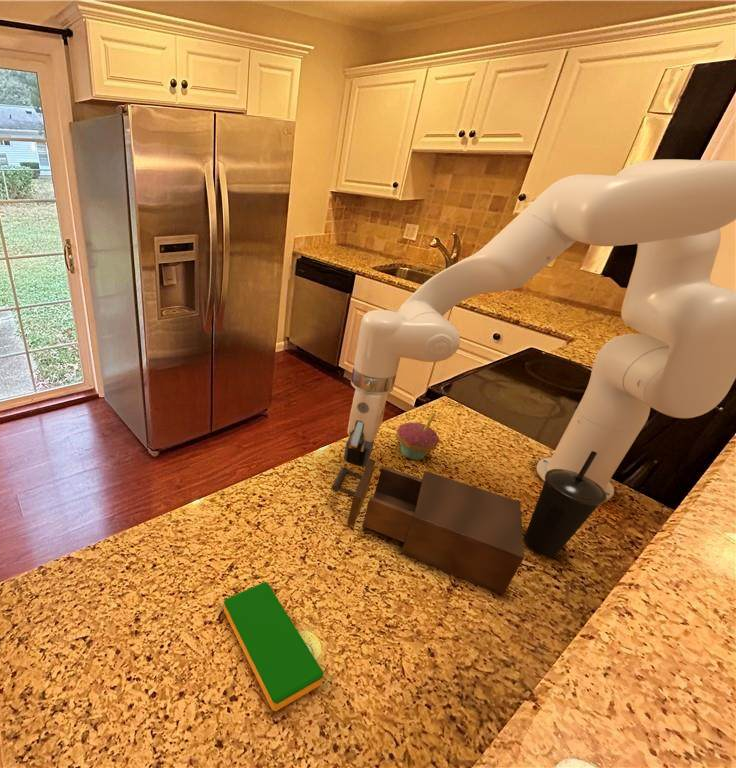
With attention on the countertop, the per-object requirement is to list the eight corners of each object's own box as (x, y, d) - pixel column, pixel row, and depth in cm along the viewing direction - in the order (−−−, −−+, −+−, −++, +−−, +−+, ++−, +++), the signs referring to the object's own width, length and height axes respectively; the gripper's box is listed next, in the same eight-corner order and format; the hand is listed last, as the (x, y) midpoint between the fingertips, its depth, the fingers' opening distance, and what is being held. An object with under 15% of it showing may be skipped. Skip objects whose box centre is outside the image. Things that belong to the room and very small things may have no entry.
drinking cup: (577, 568, 66) (641, 473, 57) (525, 559, 68) (579, 465, 58) (554, 531, 73) (608, 440, 63) (507, 524, 74) (552, 434, 64)
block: (349, 447, 87) (352, 430, 85) (371, 454, 85) (375, 437, 83) (343, 459, 84) (346, 441, 81) (365, 467, 82) (369, 449, 79)
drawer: (323, 514, 74) (328, 485, 71) (341, 477, 83) (347, 450, 79) (429, 557, 66) (441, 528, 63) (437, 512, 75) (448, 484, 72)
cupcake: (438, 453, 92) (454, 407, 86) (424, 471, 86) (440, 424, 80) (400, 437, 97) (413, 393, 91) (385, 453, 91) (397, 407, 86)
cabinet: (401, 553, 68) (413, 516, 64) (413, 505, 78) (424, 470, 74) (502, 595, 62) (524, 557, 58) (502, 537, 71) (520, 501, 67)
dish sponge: (265, 590, 62) (266, 580, 61) (322, 684, 51) (325, 674, 50) (222, 609, 59) (223, 599, 58) (273, 713, 48) (274, 703, 47)
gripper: (384, 404, 67) (366, 488, 76) (402, 365, 80) (385, 440, 89) (339, 392, 71) (326, 474, 79) (363, 356, 83) (350, 430, 92)
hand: (357, 455), depth 84 cm, fingers closed on block, 4 cm apart
